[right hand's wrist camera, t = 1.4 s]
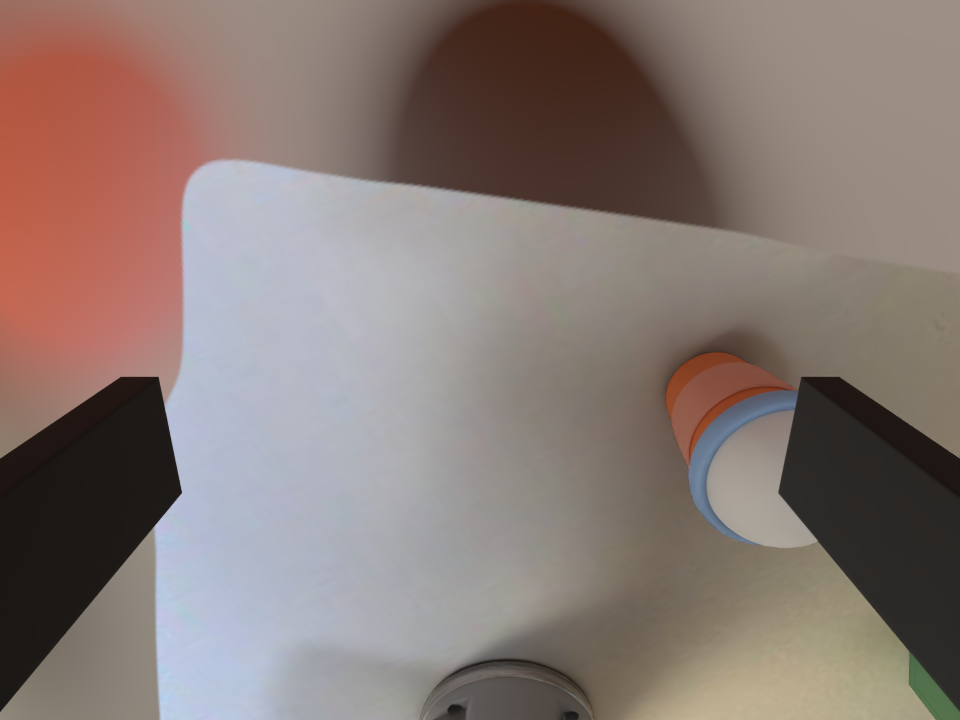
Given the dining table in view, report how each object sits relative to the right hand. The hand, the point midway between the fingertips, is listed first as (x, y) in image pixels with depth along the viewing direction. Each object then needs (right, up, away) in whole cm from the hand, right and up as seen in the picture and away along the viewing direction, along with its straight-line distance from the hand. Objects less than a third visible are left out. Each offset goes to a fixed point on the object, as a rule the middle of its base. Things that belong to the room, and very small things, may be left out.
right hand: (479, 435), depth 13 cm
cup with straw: (+16, -1, +29) cm, 33 cm away
